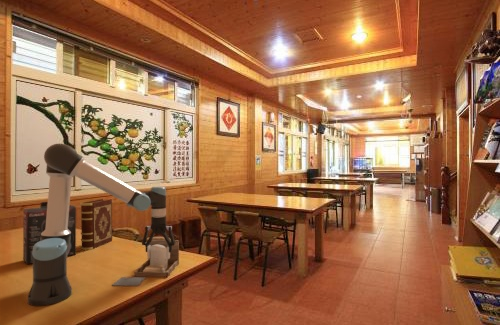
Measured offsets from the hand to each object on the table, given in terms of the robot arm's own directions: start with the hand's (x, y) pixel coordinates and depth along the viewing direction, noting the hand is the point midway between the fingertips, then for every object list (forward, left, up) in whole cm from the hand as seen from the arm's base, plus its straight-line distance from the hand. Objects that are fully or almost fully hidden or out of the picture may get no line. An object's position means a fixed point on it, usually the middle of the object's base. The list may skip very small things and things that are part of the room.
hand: (158, 258), depth 155 cm
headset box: (+16, +71, -6) cm, 73 cm away
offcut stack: (-7, 0, -5) cm, 9 cm away
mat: (-17, +8, -5) cm, 20 cm away
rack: (-1, 0, -5) cm, 5 cm away
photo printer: (0, 0, -5) cm, 5 cm away
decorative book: (+42, +58, -6) cm, 72 cm away
